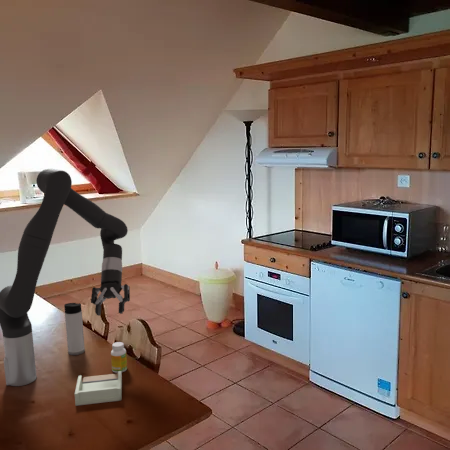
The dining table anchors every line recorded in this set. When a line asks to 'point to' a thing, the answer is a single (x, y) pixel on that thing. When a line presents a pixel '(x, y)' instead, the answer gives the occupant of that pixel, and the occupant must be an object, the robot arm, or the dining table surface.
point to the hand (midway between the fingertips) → (109, 314)
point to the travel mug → (74, 328)
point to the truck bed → (98, 389)
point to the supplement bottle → (118, 357)
